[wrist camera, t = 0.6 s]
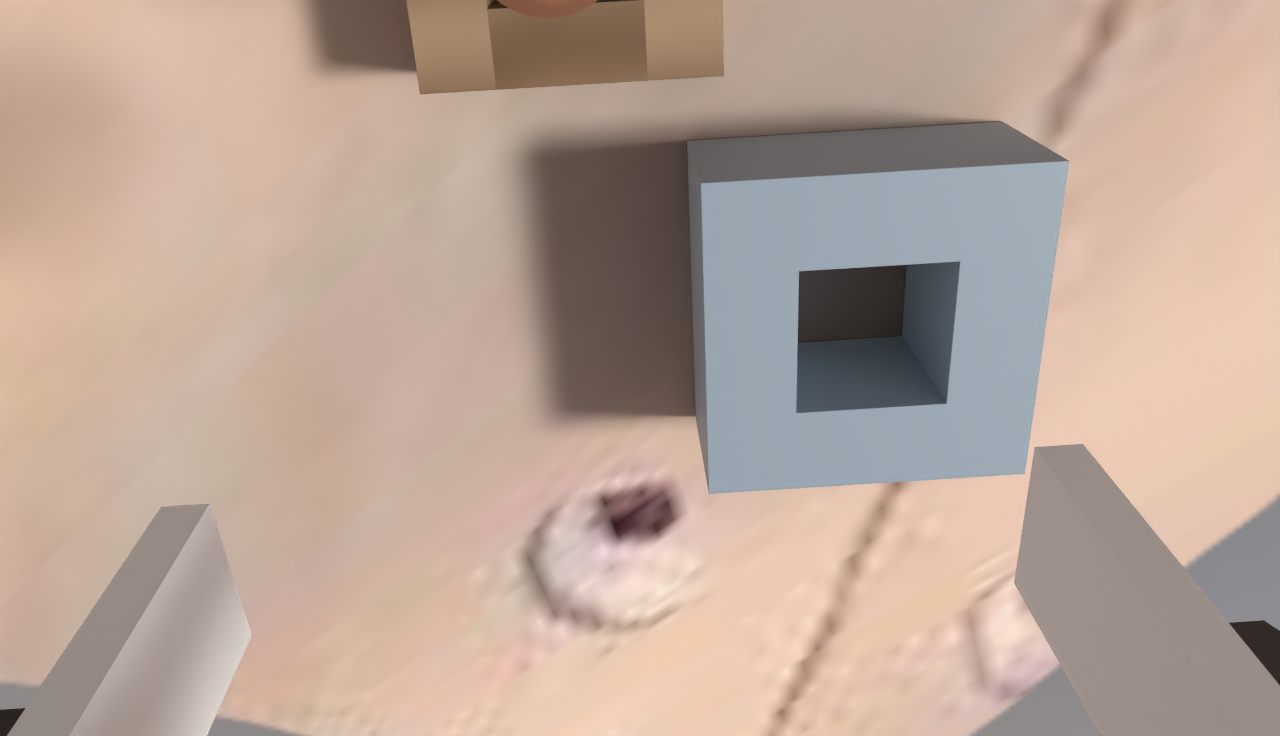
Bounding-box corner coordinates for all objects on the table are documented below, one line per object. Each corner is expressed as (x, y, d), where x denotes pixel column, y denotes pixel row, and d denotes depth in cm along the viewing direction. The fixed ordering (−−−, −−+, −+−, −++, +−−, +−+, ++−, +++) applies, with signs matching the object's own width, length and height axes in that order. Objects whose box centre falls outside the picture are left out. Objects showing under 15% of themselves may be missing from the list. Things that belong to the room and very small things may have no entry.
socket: (687, 140, 37) (701, 183, 32) (1001, 121, 37) (1069, 160, 32) (695, 416, 43) (709, 493, 37) (971, 399, 43) (1024, 473, 37)
